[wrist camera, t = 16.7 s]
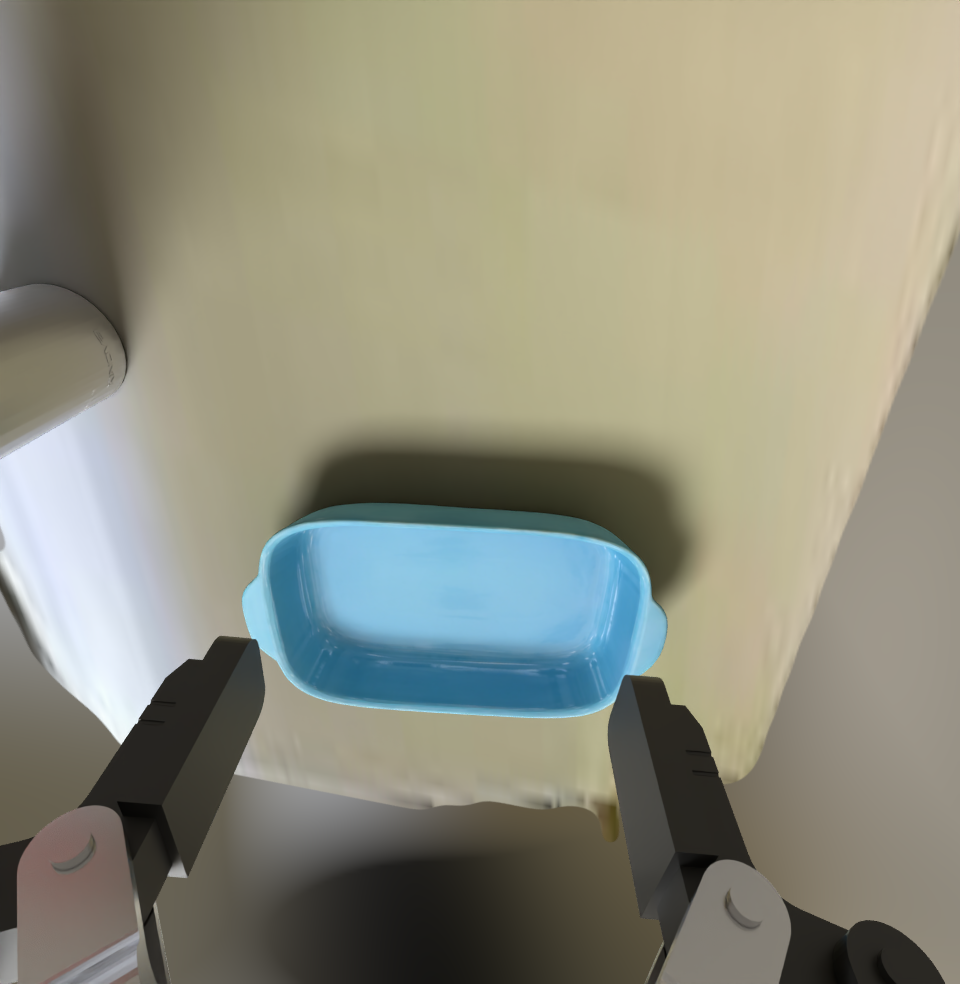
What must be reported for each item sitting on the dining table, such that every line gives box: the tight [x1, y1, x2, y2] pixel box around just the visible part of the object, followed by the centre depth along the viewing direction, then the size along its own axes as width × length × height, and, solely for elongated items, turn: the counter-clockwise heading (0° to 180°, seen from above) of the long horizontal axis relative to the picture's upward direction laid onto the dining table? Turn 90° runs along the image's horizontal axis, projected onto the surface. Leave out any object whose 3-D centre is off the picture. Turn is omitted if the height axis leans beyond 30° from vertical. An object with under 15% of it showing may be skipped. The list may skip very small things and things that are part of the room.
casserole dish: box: [242, 503, 668, 718], centre depth 50 cm, size 37×22×7 cm, turn 88°
